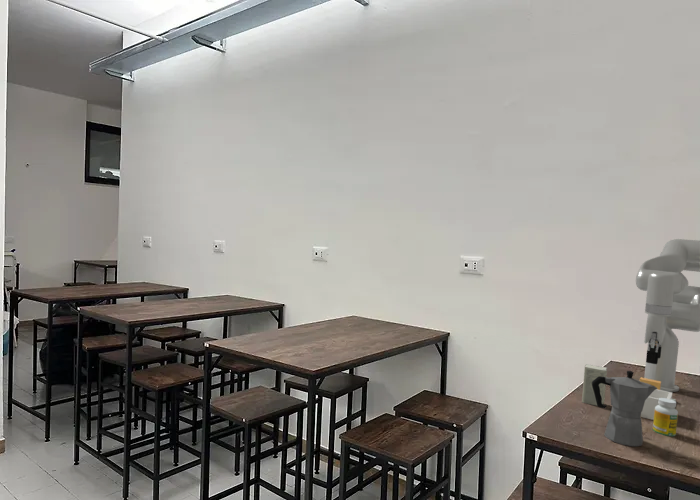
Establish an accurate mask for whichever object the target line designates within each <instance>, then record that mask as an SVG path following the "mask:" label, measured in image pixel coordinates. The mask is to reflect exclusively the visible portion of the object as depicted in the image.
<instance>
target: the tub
mask: <svg viewBox="0 0 700 500" xmlns="http://www.w3.org/2000/svg"><path fill="white" fill-rule="evenodd" d="M659 398H667V399H671V400H672V399H673V392H668V391H662V390H658V389H656V390H654V391H653V392H652V393H651V394H650V395H649V397H648V398H647V399H646V400H645V403H644V406H643V410H642V412H641V418H644V419H649V420H652V421H654V412H655V407H656V406H657V405H659V403H658V401H659Z"/></svg>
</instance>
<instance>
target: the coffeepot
mask: <svg viewBox="0 0 700 500" xmlns="http://www.w3.org/2000/svg"><path fill="white" fill-rule="evenodd" d="M626 376H627V377H626ZM626 376H624V377H623V376H619V377H618V376H611V377H608V376H606V377H602V376H598V377H597V378H596V379H595V380H593V381H592V387H593V391H594V395H595V398H596V402H597V406H596V407H598V408H601V409H606V408H607V406H608V405H607V404H605V403H604V404H602V397H601V395H600V387H599V384H600V383H602V384H605V385H607V386H609V395H610V396H609V397H610V405H611V411H610V414H609V417H608V421H607V424H606V427H605V431H604V434H603V435H604V437H605V438H607V440H609V441H611V442H614V443H616V444H620V445H622V446H627V447H641V446H643V442H644V437H643V436H644V435H643V424H642V417H641V412H642V410H643V406H644V403H645V400H646V399H647V398H648V397H649V395H650V394H651V393H652V392H653V391H654V390H656V389H657V387H655V386H653V385H651V384H647V383H644V382H641V381H639V380H638V379H636V378H633V376H634V372H633V370H632V371H631V370H627V371H626Z"/></svg>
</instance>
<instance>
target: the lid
mask: <svg viewBox="0 0 700 500" xmlns="http://www.w3.org/2000/svg"><path fill="white" fill-rule="evenodd" d="M639 379H640V380H638V381H641V382H644V383H647V384H651V385H653V386H655V387H657V389H658V390H660V388H661V381H656V380H652V379H647V378H644V377H642V376H641V377H640V378H639ZM672 400H674V401H676V402H677V400H676V398H672Z"/></svg>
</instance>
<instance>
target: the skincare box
mask: <svg viewBox="0 0 700 500" xmlns="http://www.w3.org/2000/svg"><path fill="white" fill-rule="evenodd" d="M607 374H608V367H605V366H604V367H603V366H599V365H598V366H597V365H593V364H585V365H584V372H583V381H582V382H583V385H582V396H581V403H584V404H586V405H587V404H588V405H591V406H596V407H598V406H597V402H596V398H595V395H594V391H593V387H592V381H593V380H595V379H596V378H597V377H598V376H602V377H608V376H607ZM599 387H600V395H601V397H602V404H604V405H605V398H606V390H607V389H606V387H607V386H606V385H605V384H602V383H600V384H599Z"/></svg>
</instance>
